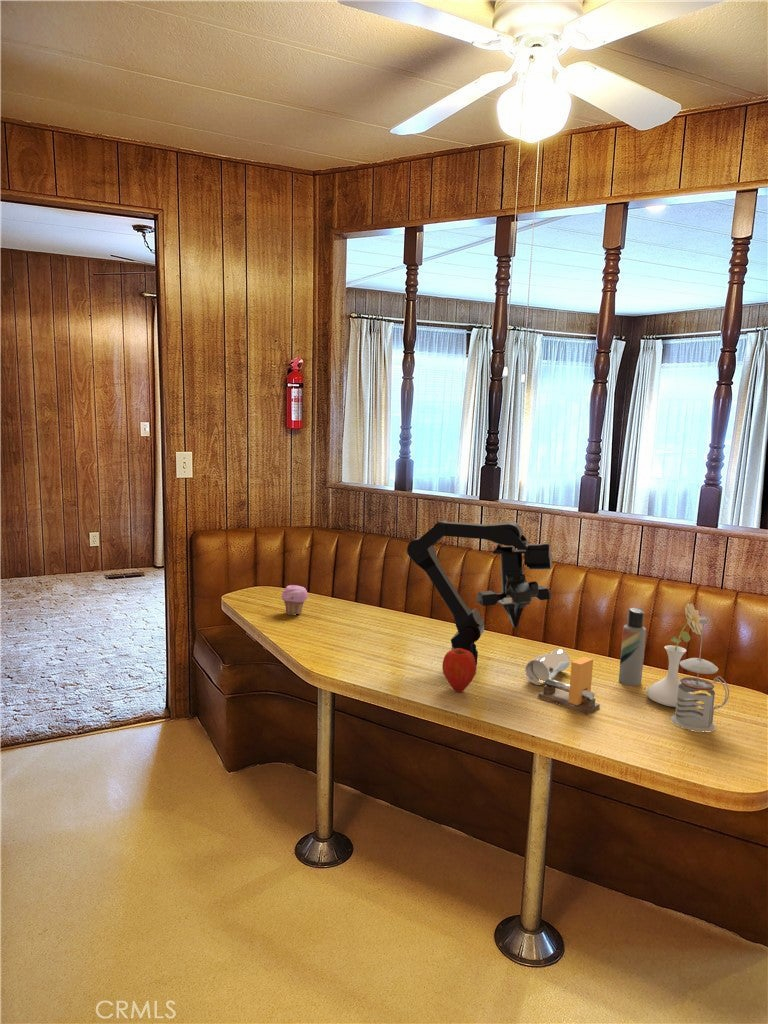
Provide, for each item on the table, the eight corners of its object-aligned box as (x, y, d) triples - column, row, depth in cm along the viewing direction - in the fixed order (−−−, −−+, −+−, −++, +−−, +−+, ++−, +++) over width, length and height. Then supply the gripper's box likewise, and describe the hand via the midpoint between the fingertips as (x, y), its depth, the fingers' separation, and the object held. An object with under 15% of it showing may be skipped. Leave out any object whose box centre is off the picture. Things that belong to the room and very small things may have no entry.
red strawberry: (437, 684, 175) (440, 643, 174) (470, 684, 176) (473, 643, 175) (444, 697, 167) (446, 654, 166) (478, 697, 168) (481, 654, 166)
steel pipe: (545, 686, 170) (545, 678, 170) (549, 684, 172) (549, 677, 172) (590, 701, 162) (591, 693, 162) (594, 699, 163) (594, 691, 163)
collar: (568, 702, 164) (571, 661, 163) (580, 696, 168) (584, 656, 167) (577, 705, 162) (580, 664, 161) (589, 699, 166) (593, 659, 165)
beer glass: (546, 668, 192) (523, 681, 180) (549, 644, 191) (526, 655, 179) (570, 675, 188) (548, 689, 176) (573, 650, 187) (551, 663, 175)
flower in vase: (671, 714, 163) (682, 612, 160) (635, 696, 173) (644, 599, 170) (710, 707, 169) (721, 607, 165) (672, 690, 179) (682, 596, 176)
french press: (679, 710, 165) (689, 609, 162) (730, 726, 157) (742, 620, 154) (663, 722, 158) (673, 616, 155) (716, 739, 150) (728, 628, 147)
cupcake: (282, 610, 238) (283, 581, 236) (307, 610, 238) (308, 582, 237) (280, 617, 229) (280, 588, 228) (306, 618, 229) (307, 588, 228)
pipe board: (538, 697, 170) (539, 677, 169) (554, 689, 175) (556, 670, 175) (587, 714, 160) (588, 694, 160) (603, 706, 166) (604, 686, 165)
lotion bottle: (634, 678, 186) (640, 606, 184) (645, 686, 181) (652, 612, 178) (614, 678, 185) (621, 606, 183) (625, 686, 180) (631, 612, 177)
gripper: (487, 578, 173) (490, 638, 175) (557, 571, 176) (560, 630, 178) (474, 571, 184) (478, 628, 186) (541, 564, 187) (543, 621, 189)
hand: (515, 627), depth 184 cm, fingers closed
